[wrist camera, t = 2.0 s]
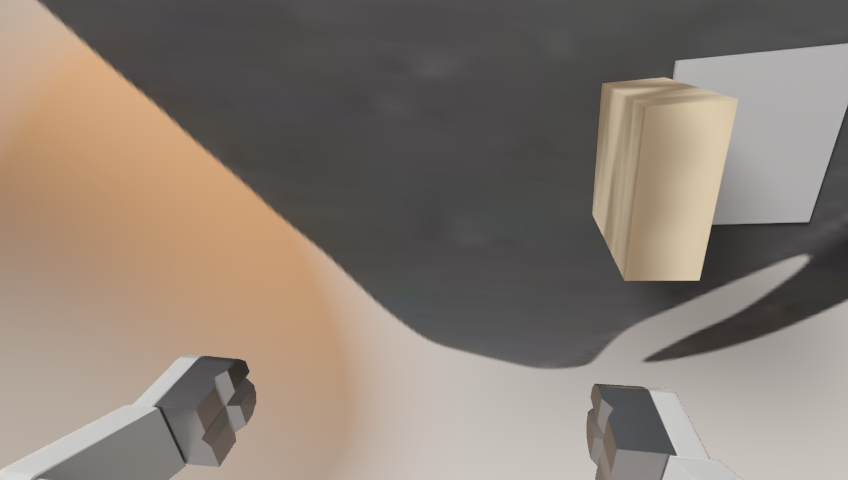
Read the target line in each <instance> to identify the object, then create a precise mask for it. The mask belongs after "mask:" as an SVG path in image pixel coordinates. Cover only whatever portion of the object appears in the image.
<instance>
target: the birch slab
mask: <svg viewBox="0 0 848 480" xmlns="http://www.w3.org/2000/svg"><path fill="white" fill-rule="evenodd" d="M738 100H739V99H736V98H733V97H729V96H726V95H722V94H719V93H716V92H712V91H709V90H705V89H702V88H699V87H695V86H692V85H689V84H685V83H682V82H678V81H675V80H672V79H668V78H665V77H664V78H654V79H643V80H632V81H622V82H611V83H602V93H601V106H600V120H599V133H598V146H597V160H596V173H595V186H594V200H593V213H592V215H593V217H594V219H595V221H596V223H597V225H598V227H599V229H600V231H601V233H602V235H603V237H604V239H605V241H606V243H607V246H608V248H609V250H610V252H611V254H612V256H613V258H614V260H615V262H616V264H617V266H618V268H619V270H620V272H621V274H622V276H623V278H624V281H700V276H701V271H702V267H703V262H704V257H705V253H706V248H707V244H708V239H709V234H710V230H711V225H712V220H713V216H714V211H715V207H716V202H717V197H718V193H719V188H720V183H721V179H722V174H723V169H724V165H725V160H726V156H727V151H728V146H729V142H730V137H731V132H732V128H733V123H734V118H735V114H736V109H737V105H738Z"/></svg>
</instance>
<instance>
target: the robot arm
mask: <svg viewBox="0 0 848 480" xmlns="http://www.w3.org/2000/svg"><path fill="white" fill-rule="evenodd" d="M248 373H249V369H248V367H247V364H246V361H243V360H240V359H232V358H221V357H211V356H197V355H184V356H182V357H180V358H178V359H177V360H176V361H175V362H174V364H172V366H171V367H169V368H168V369H167V370H166V371H165V372H164V374H163V375H162V376H161V377H160V378H159V379H158V380H157V381H156V382H155V383H154V384H153V385H152V386H151V387H150V388H149V389H148V390H147V391H146V392H145V393H144V394H143V395H142V396H141V397H140V398H139V399H138V400H137V401H136V402H135V403H134V404H133V405H125V406H123V407H121V408H119V409H117V410H115V411H113V412H111V413H109V414H107V415H105V416H104V417H102V418H100V419H98V420H96V421H94V422H92V423H90V424H88V425H86V426H84V427H82V428H80V429H78V430H76V431H74V432H73V433H71V434H69V435H67V436H65V437H63V438H61V439H59V440H57V441H55V442H53V443H51V444H49V445H47V446H45V447H43V448H41V449H40V450H38V451H36V452H34V453H32V454H30V455H28V456H26V457H24V458H22V459H20V460H18V461H16V462H14V463H12V464H11V465H9V466H7V467H5V468H3V469H1V470H0V480H169V479H170V478H171V477H172V476H174V475H175V474H176V473H177V472H179V471H180V470H181V469H183V468H184V467H185V466H186V465H185V464H192V465H204V466H217V467H219V466H220V465H221V464H222V462H223V461H224V459H225V457H226V456H227V454H228V453H229V451H230V450H231V448H232V446H233V445H234V443H235V442H236V435H235V432H236V431H238V430H239V429H241V428H242V427H244V426H245V425H247V423H248V421H249V420H250V418H251V416H252V415H253V411H254V407H255V405H256V391H255V388H254V385H253V384H252V383H251V382H250V381H249V380H248V379H247V378H246V377H247V375H248ZM591 400H592V404H593V409H591V410H590V411H589V412H588V416H587V442H588V448H589V453H590V457H591V459H592V460H593V461H594V463H595V464H596V465H597V466H598V467H597V473H596V478H595V479H596V480H743V479H742V478H741V477H739V476H738V475H736V473H734V472H733V471H732V470H731V469H729V468H728V467H727V466H726V465H724V464H723V463H722V462H721V461H719V460H711V459H710V457H709V456H708V454H707V452H706V450H705V448H704V446H703V444H702V443H701V440H700V439H699V436H698V434H697V433H696V431H695V429H694V427H693V425H692V423H691V421H690V419H689V417H688V415H687V413H686V412H685V410H684V408H683V406H682V404H681V402H680V400H679V398H678V396H677V394H676V393H675V392H674V391H673V390H672V389H671V388H656V387H639V386H622V385H606V384H605V385H604V384H594V386H593V388H592V392H591Z"/></svg>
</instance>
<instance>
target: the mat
mask: <svg viewBox="0 0 848 480" xmlns="http://www.w3.org/2000/svg"><path fill="white" fill-rule="evenodd" d="M673 80H675V81H678V82H682V83H685V84H689V85H692V86H695V87H699V88H702V89H705V90H709V91H712V92H716V93H719V94H722V95H726V96H729V97H733V98H736V99H739V100H738V105H737V109H736V114H735V118H734V123H733V128H732V132H731V137H730V142H729V146H728V151H727V156H726V160H725V165H724V169H723V174H722V179H721V183H720V188H719V193H718V197H717V202H716V207H715V211H714V216H713V220H712V225H717V224H753V223H789V222H809V220H810V217H811V214H812V211H813V208H814V205H815V202H816V199H817V196H818V193H819V190H820V187H821V184H822V181H823V178H824V175H825V172H826V169H827V166H828V163H829V160H830V157H831V154H832V151H833V148H834V145H835V142H836V139H837V135H838V132H839V129H840V126H841V123H842V120H843V117H844V114H845V111H846V108H847V105H848V43H847V44H837V45H827V46H817V47H807V48H797V49H787V50H777V51H768V52H758V53H748V54H738V55H728V56H718V57H708V58H698V59H688V60H678V61H675V67H674V74H673Z"/></svg>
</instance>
